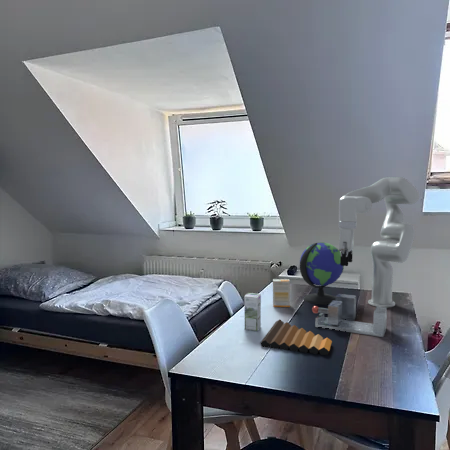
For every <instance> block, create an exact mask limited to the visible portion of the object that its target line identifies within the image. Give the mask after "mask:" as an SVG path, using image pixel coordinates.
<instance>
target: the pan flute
mask: <svg viewBox="0 0 450 450" xmlns="http://www.w3.org/2000/svg"><path fill="white" fill-rule="evenodd" d="M332 343H333V341H332V339H330V338H328V337H326V338H324V337H323V336H322V335H320V334H319V333H318V334H316V335H315V333H314V332H312V331H311V330H309V331H307V330H305V329H304V328H303V327H301V328H299V327H298V326H297V325H295V324H294V325H291V324H290V323H289V322H284V321H282V320H281V319H278V320H276V321H275V322H274V323H273V325H272V326H271V328H270V329H269V330H268V331H267V333H266V334H265V336H264V337H263V339H262V340H261V341H260V346H261V348H269V349H274V350H275V349H276V350H279V349H280V350H282V351H283V350H284V351H288V350H289V351H291V352H298V351H299V352H300V353H306V354H307V353H308V352H309V354H313V355H318V353H319V355H322V356H328V355H329V352H330V350H331V346H332Z"/></svg>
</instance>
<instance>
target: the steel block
mask: <svg viewBox="0 0 450 450" xmlns="http://www.w3.org/2000/svg"><path fill="white" fill-rule="evenodd" d="M335 297H336V301H342V320H345V319H346V320H349V321H355V320H356V318H357V317H356V314H357V311H356V310H357V295H354V294H345V293H343V294H342V293H337V294H336V295H335Z"/></svg>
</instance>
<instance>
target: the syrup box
mask: <svg viewBox="0 0 450 450" xmlns="http://www.w3.org/2000/svg"><path fill="white" fill-rule="evenodd" d="M243 299H244V330H245V331H254V332H258V331H259V330H260V329H261V327H262V323H261V317H262V316H261V315H262V314H261V313H262V311H261V309H262V308H261V307H262V305H261V303H262V296H261V293H253V292H247V293H246V294H245V295H244V298H243Z"/></svg>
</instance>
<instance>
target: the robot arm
mask: <svg viewBox="0 0 450 450" xmlns="http://www.w3.org/2000/svg"><path fill="white" fill-rule="evenodd" d="M419 199H420V192H419V190H418V188H417V187H416V186H415V185H414V184H413V183H412V182H411V181H409V180H408V179H407V178H405V177H404V176H403V177H401V176H395V177H394V176H393V177H392V176H390V177H389V176H387V177H383V178H380V179H379V180H378V181H376V182H374V183H373V184H371V185H369V186H365V187H361V188H358V189H355V190H352V191H349V192H348V193H345V194H344V195H342V197H340V198H339V200H338V201H339V202H338V229H339V239H338V250H339V251H340V253H341V260H340V265H341V266H344V267H348V266H349V263H352V262H353V254H354V253H353V249H354V244H355V240H354V239H355V238H354V237H355V230H357V217H358V215H357V214H366V213H369V212H370V210H371V209H372V206H373V205H372V204H377V203H379V202H380V201H383V200H384V205H385V208H386V214H385V217H384V220H383V223H382V226H381V229H380V235H379V236H380V238H381V239H382V240H377V241H374V242H373V243H372V244H371V246H370V254H371V262H372V264H371V265H372V267H371V268H372V270H371V271H372V273H371V274H372V275H371V276H372V277H371V299H368V300H367V303H368V304H369V305H370V306H373V307H376V306H379V307H387V308H393V307H395V306H396V302H395V301H394V300H393V282H394V281H393V279H394V277H393V275H394V270H393V266H392V264H391V262H392V263H397V264H398V263H400V264H401V263H405V262H406V261H407V260H408V258H409V255H410V252H411V249H412V246H413V243H414V240H415V237H416V229H415V227H414V225H413V224H411V223H410V222H404V219H405V213H404V211H403V209H402V208H401V206H400V205H414V204H417V202H419Z"/></svg>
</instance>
